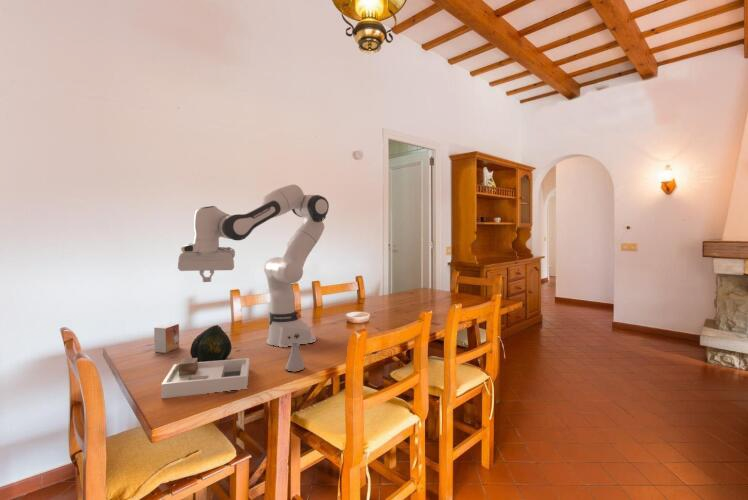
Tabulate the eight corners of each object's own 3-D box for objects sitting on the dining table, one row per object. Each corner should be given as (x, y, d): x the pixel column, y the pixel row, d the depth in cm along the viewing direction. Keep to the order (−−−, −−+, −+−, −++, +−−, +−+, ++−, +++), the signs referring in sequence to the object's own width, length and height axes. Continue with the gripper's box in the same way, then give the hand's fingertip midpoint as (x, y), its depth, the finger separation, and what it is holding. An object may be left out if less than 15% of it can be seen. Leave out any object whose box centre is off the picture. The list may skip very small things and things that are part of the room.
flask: (295, 374, 132) (295, 347, 131) (281, 370, 135) (281, 344, 135) (308, 368, 138) (309, 342, 137) (294, 364, 142) (295, 339, 141)
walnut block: (197, 368, 128) (197, 357, 127) (195, 374, 123) (195, 362, 123) (181, 370, 126) (181, 359, 126) (178, 375, 121) (178, 364, 121)
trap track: (249, 369, 135) (249, 358, 135) (247, 389, 119) (247, 376, 119) (174, 376, 128) (174, 364, 128) (161, 398, 112) (161, 384, 111)
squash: (181, 358, 131) (211, 324, 135) (184, 347, 145) (211, 317, 148) (213, 379, 135) (241, 346, 139) (213, 367, 149) (239, 337, 153)
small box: (165, 353, 151) (165, 328, 150) (154, 352, 152) (153, 327, 151) (179, 347, 159) (179, 323, 158) (168, 346, 160) (168, 322, 159)
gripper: (235, 246, 149) (235, 280, 150) (180, 246, 143) (180, 281, 144) (234, 247, 143) (234, 282, 144) (176, 247, 137) (177, 283, 138)
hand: (207, 281), depth 144 cm, fingers closed
